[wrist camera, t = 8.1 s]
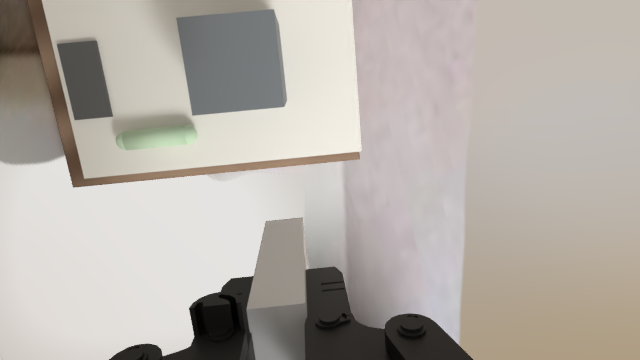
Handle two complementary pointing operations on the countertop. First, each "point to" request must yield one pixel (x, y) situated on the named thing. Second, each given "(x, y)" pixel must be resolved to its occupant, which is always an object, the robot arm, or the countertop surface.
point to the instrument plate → (168, 91)
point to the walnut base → (79, 181)
